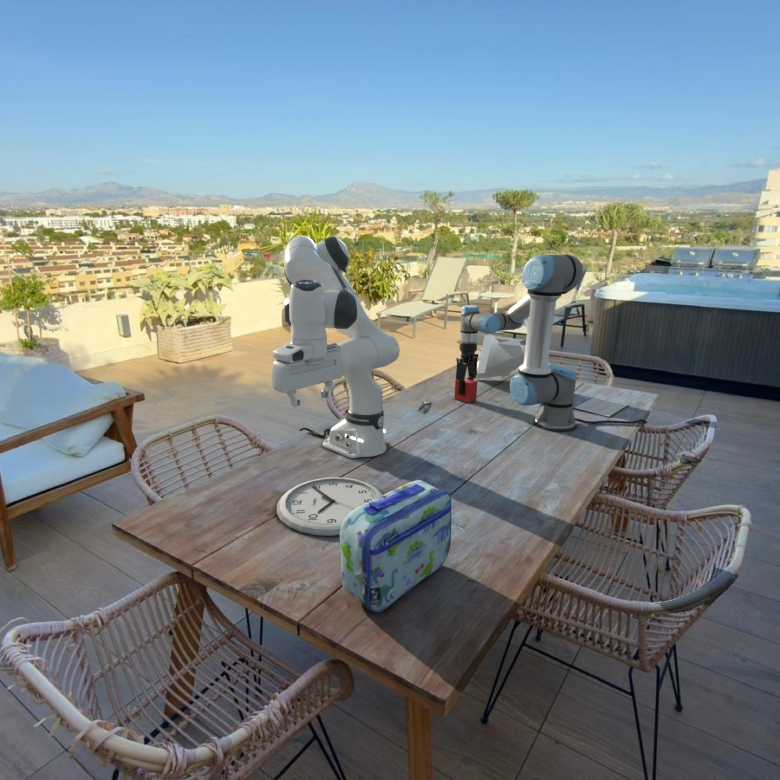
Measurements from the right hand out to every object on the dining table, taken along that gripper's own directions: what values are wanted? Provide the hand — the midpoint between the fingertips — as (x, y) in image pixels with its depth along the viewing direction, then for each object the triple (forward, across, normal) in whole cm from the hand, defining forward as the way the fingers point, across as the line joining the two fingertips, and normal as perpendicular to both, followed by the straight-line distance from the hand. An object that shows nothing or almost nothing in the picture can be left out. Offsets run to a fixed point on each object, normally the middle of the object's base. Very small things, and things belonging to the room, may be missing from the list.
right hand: (465, 393), depth 231 cm
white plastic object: (+3, -33, +2) cm, 33 cm away
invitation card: (+3, -34, +47) cm, 59 cm away
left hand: (-27, +107, +25) cm, 113 cm away
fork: (+3, +20, -8) cm, 21 cm away
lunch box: (+4, +114, +62) cm, 130 cm away
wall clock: (+4, +102, +27) cm, 106 cm away
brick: (+3, 0, 0) cm, 3 cm away
